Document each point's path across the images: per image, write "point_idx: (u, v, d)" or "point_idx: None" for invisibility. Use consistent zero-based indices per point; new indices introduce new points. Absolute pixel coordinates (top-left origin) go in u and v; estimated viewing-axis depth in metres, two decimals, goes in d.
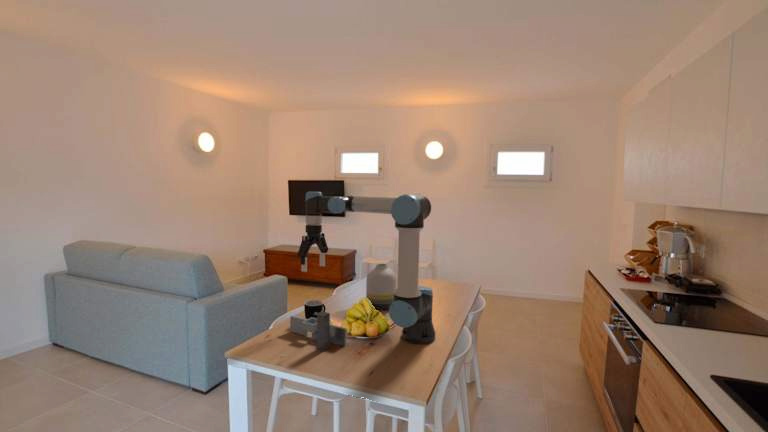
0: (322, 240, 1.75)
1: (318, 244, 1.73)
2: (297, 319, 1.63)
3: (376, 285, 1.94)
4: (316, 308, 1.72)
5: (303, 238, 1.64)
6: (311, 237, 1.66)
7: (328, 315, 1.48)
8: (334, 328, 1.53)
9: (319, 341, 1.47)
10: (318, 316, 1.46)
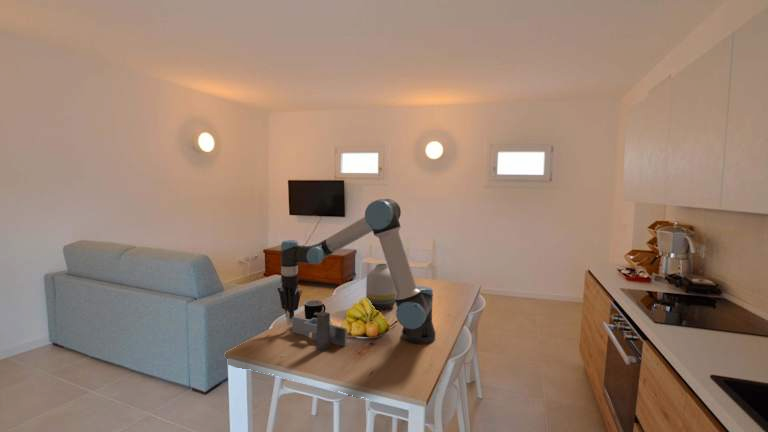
0: None
1: None
2: (299, 319, 1.62)
3: (376, 285, 1.94)
4: (316, 308, 1.72)
5: None
6: (283, 286, 1.65)
7: (328, 315, 1.48)
8: (334, 328, 1.53)
9: (319, 341, 1.47)
10: (318, 316, 1.46)
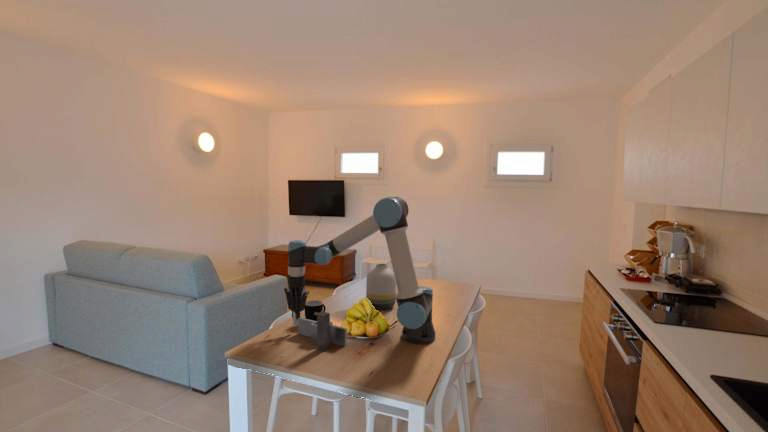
0: None
1: None
2: (305, 321, 1.60)
3: (376, 285, 1.94)
4: (316, 308, 1.72)
5: None
6: (289, 286, 1.63)
7: (328, 315, 1.48)
8: (334, 328, 1.53)
9: (319, 341, 1.47)
10: (318, 316, 1.46)
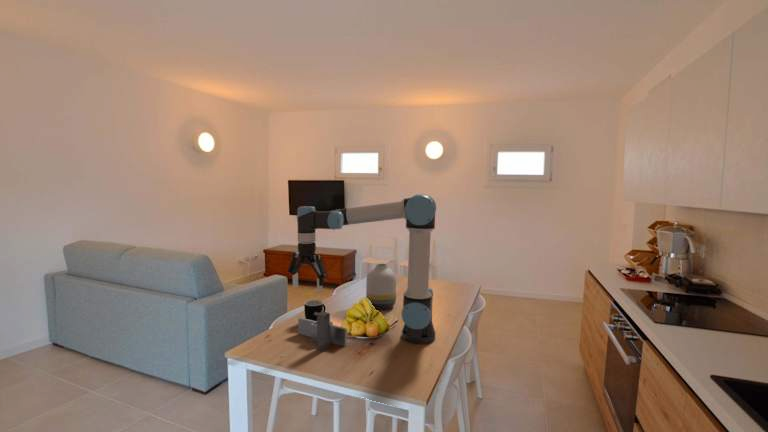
0: None
1: None
2: (305, 321, 1.60)
3: (376, 285, 1.94)
4: (316, 308, 1.72)
5: None
6: (299, 255, 1.55)
7: (328, 315, 1.48)
8: (334, 328, 1.53)
9: (319, 341, 1.47)
10: (318, 316, 1.46)
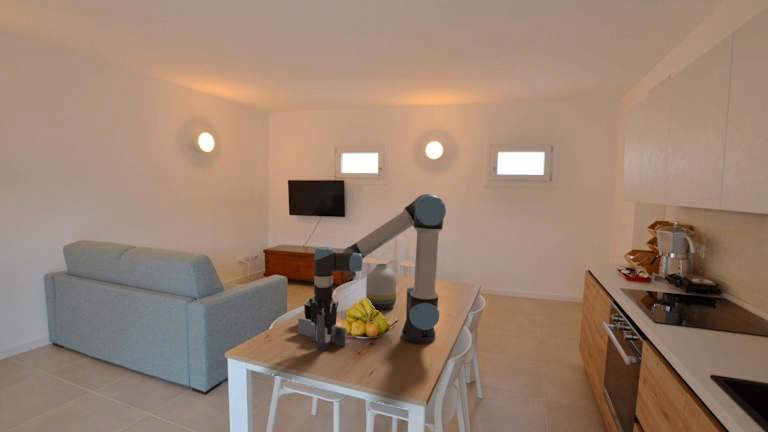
0: None
1: None
2: (305, 321, 1.60)
3: (376, 285, 1.94)
4: None
5: None
6: (316, 298, 1.47)
7: None
8: (334, 328, 1.53)
9: (319, 341, 1.47)
10: (318, 316, 1.46)
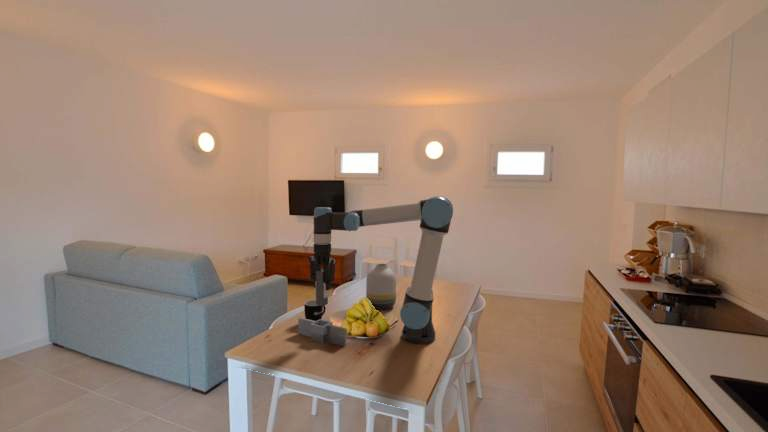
0: None
1: None
2: (305, 321, 1.60)
3: (376, 285, 1.94)
4: (316, 308, 1.72)
5: None
6: (315, 256, 1.55)
7: None
8: (334, 328, 1.53)
9: (318, 296, 1.55)
10: (317, 272, 1.54)
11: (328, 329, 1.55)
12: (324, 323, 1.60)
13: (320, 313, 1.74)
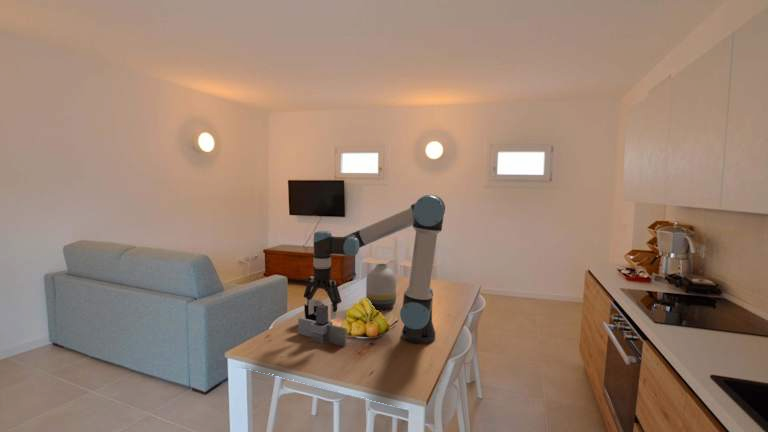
0: None
1: None
2: (305, 321, 1.60)
3: (376, 285, 1.94)
4: None
5: None
6: (315, 279, 1.56)
7: (326, 308, 1.56)
8: (334, 328, 1.53)
9: None
10: (317, 308, 1.55)
11: (328, 329, 1.55)
12: None
13: None
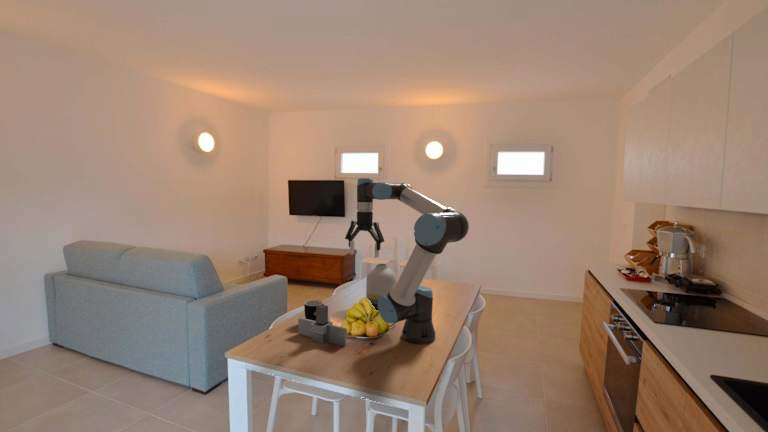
0: None
1: None
2: (305, 321, 1.60)
3: (376, 285, 1.94)
4: None
5: None
6: (358, 223, 1.70)
7: (326, 308, 1.56)
8: (334, 328, 1.53)
9: None
10: (317, 308, 1.55)
11: (328, 329, 1.55)
12: None
13: None
